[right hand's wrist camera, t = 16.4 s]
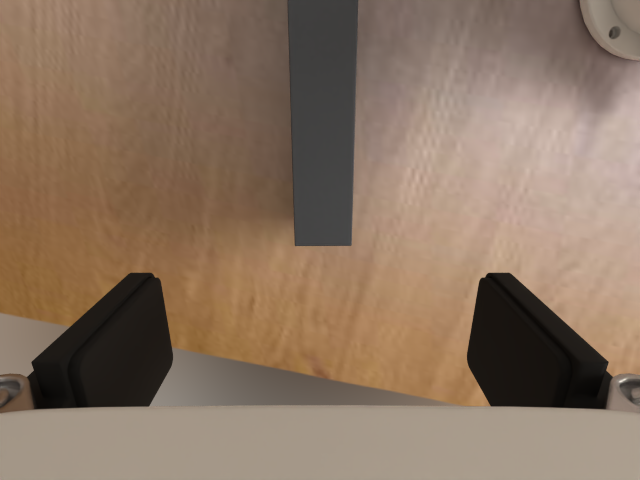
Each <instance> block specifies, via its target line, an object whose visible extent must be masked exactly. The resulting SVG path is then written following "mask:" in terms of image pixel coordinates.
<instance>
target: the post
mask: <svg viewBox="0 0 640 480" xmlns="http://www.w3.org/2000/svg"><path fill="white" fill-rule="evenodd" d="M357 28H358V0H288V31H289V65H290V98H291V132H292V165H293V199H294V233H295V246H351V245H352V210H353V174H354V137H355V101H356V64H357Z"/></svg>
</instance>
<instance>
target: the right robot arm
mask: <svg viewBox="0 0 640 480" xmlns="http://www.w3.org/2000/svg"><path fill="white" fill-rule="evenodd" d="M580 8H581V12H582V15H583V19H584V22H585V24H586V26H587V28H588V30H589V32H590V34H591V36H592V37H593V38H594V39H595V40H596V41H597V43H598V44H599V45H600V46H601V47H603V48H604V49H606V50H607V51H608V52H610V53H611V54H613V55H616V56H619V57H622V58H624V59H631V60H639V61H640V0H580ZM172 361H173V352H172V346H171V340H170V334H169V328H168V322H167V316H166V310H165V304H164V298H163V292H162V286H161V281H160V279H159V278H155V277H154V275H153V274H152V273H130V274H128V275H127V276H126V277H125V278H124V279H123V280H122V281H121V282H119V283H118V284H117V285H116V286H115V287H114V288H113V289H112V290H111V291H109V292H108V293H107V294H106V295H105V296H104V297H103V298H102V299H101V300H100V301H98V302H97V303H96V304H95V305H94V306H93V307H92V308H91V309H90V310H88V311H87V312H86V313H85V314H84V315H83V316H82V317H81V318H80V319H78V320H77V321H76V322H75V323H74V324H73V325H72V326H71V327H70V328H69V329H67V330H66V331H65V332H64V333H63V334H62V335H61V336H60V337H59V338H57V339H56V340H55V341H54V342H53V343H52V344H51V345H50V346H49V347H48V348H46V349H45V350H44V351H43V352H42V353H41V354H40V355H39V356H38V357H36V358H35V359H34V360H33V361H32V366H33V369H34V371H33V372H32V373H31V374H30V375H29V376H28V377H25V376H23V375H21V374H4V375H0V480H640V375H636V374H619V375H617V376H615V377H612V376H611V375H610V374H609V373H608V372H607V371H606V369H607V366H608V363H609V362H608V361H607V360H606V359H605V358H604V357H602V356H601V355H600V354H599V353H598V352H597V351H596V350H595V349H594V348H592V347H591V346H590V345H589V344H588V343H587V342H586V341H585V340H584V339H583V338H581V337H580V336H579V335H578V334H577V333H576V332H575V331H574V330H573V329H571V328H570V327H569V326H568V325H567V324H566V323H565V322H564V321H563V320H562V319H560V318H559V317H558V316H557V315H556V314H555V313H554V312H553V311H552V310H550V309H549V308H548V307H547V306H546V305H545V304H544V303H543V302H542V301H540V300H539V299H538V298H537V297H536V296H535V295H534V294H533V293H532V292H531V291H529V290H528V289H527V288H526V287H525V286H524V285H523V284H522V283H521V282H519V281H518V280H517V279H516V278H515V277H514V276H513V275H512V274H510V273H488V274H487V275H486V277H485V278H481V279H480V281H479V286H478V292H477V298H476V304H475V310H474V316H473V322H472V328H471V334H470V340H469V346H468V352H467V361H468V366H469V368H470V370H471V372H472V373H473V375H474V377H475V379H476V380H477V382H478V384H479V386H480V388H481V389H482V391H483V393H484V395H485V397H486V398H487V400H488V402H489V404H490V405H491V407H486V406H376V405H266V406H265V405H261V406H259V405H255V406H159V407H149V405H150V404H151V402H152V400H153V398H154V397H155V395H156V393H157V391H158V389H159V388H160V386H161V384H162V382H163V380H164V379H165V377H166V375H167V373H168V372H169V370H170V368H171V366H172Z"/></svg>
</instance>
